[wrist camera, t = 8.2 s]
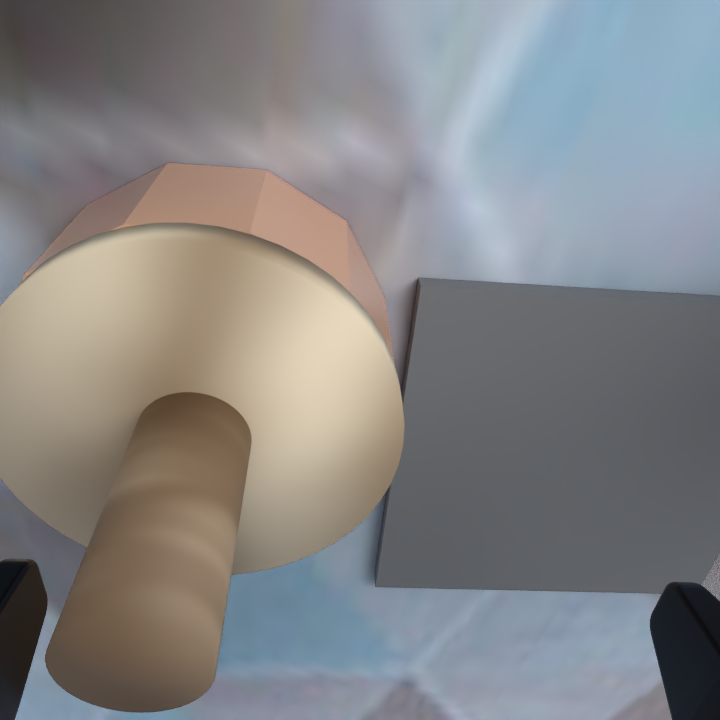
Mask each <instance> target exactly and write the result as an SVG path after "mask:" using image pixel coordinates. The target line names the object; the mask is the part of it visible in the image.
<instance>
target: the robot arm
mask: <svg viewBox="0 0 720 720" xmlns="http://www.w3.org/2000/svg"><path fill="white" fill-rule="evenodd" d="M46 610H47V594H46V591H45V588H44V584H43V581H42V578H41V574H40V571H39V568H38V565H37V563H36V562H35V561H33V560H30V559H5V560H2V561H1V562H0V720H15V717H16V714H17V711H18V708H19V704H20V701H21V698H22V694H23V691H24V687H25V684H26V680H27V677H28V673H29V670H30V667H31V663H32V660H33V656H34V653H35V649H36V646H37V642H38V639H39V636H40V632H41V629H42V625H43V622H44V618H45V615H46ZM650 631H651V635H652V640H653V644H654V648H655V652H656V656H657V660H658V664H659V668H660V672H661V676H662V680H663V684H664V688H665V692H666V696H667V701H668V705H669V709H670V713H671V717H672V720H720V601H719V600H718V599H717V598H716V597H715V596H713V595H712V594H711V593H710V592H709V591H708V590H707V589H706V588H704V587H703V586H701V585H700V584H698V583H693V582H671V583H669V584H668V585H667V586H666V587H665V589H664V591H663V593H662V595H661V597H660V599H659V601H658V603H657V605H656V606H655V608H654V610H653V612H652V615H651V619H650Z"/></svg>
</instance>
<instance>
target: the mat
mask: <svg viewBox="0 0 720 720" xmlns="http://www.w3.org/2000/svg"><path fill="white" fill-rule="evenodd" d="M401 397H402V404H403V414H404V424H405V426H404V441H403V448H402V453H401V457H400V461H399V465H398V468H397V470H396V473H395V475H394V477H393V480H392V482H391V484H390V486H389V488H388V489H387V495H386V502H385V509H384V516H383V522H382V529H381V536H380V543H379V549H378V556H377V563H376V570H375V587H395V588H439V589H483V590H527V591H571V592H615V593H659V594H662V593H663V591H664V589H665V587H666V586H667V585H668V584H669V583H671V582H693V583H698V584H700V585H701V584H702V582H703V581H704V579H705V577H706V575H707V574H708V572H709V570H710V569H711V567H712V565H713V563H714V562H715V560H716V558H717V556H718V555H719V553H720V296H712V295H695V294H679V293H662V292H646V291H629V290H612V289H596V288H579V287H563V286H546V285H530V284H513V283H497V282H480V281H463V280H447V279H430V278H419V279H418V286H417V292H416V299H415V306H414V313H413V319H412V326H411V333H410V340H409V346H408V353H407V360H406V367H405V373H404V380H403V387H402V394H401Z"/></svg>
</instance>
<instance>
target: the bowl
mask: <svg viewBox="0 0 720 720" xmlns="http://www.w3.org/2000/svg"><path fill="white" fill-rule="evenodd" d="M150 223H195V224H203V225H211V226H220V227H224V228H228V229H232V230H236V231H240V232H244V233H248V234H252V235H255V236H257V237H260V238H263V239H265V240H268V241H271V242H273V243H276V244H279V245H281V246H283V247H285V248H287V249H289V250H291V251H293V252H295V253H296V254H298V255H300V256H302V257H304V258H306V259H308V260H309V261H311V262H312V263H314V264H315V265H317V266H318V267H320V268H321V269H323V270H324V271H325V272H327V273H328V274H330V275H331V276H332V277H334V278H335V279H336V280H337V281H338V282H339V283H340V284H341V285H343V286H344V287H345V288H346V289H347V290H348V291H349V292H350V293H352V294H353V296H354V297H355V298H356V299H357V300H358V301H359V303H360V304H361V305H362V306H363V307H364V308H365V310H366V311H367V312H368V313H369V314H370V316H371V317H372V319H373V320H374V322H375V323H376V325H377V327H378V328H379V330H380V331H381V333H382V334H383V336H384V338H385V341H386V343H387V345H388V347H389V350H390V352H391V354H392V356H393V351H392V344H391V337H390V331H389V324H388V317H387V310H386V304H385V297H384V294H383V292H382V290H381V288H380V286H379V284H378V282H377V280H376V278H375V276H374V274H373V272H372V270H371V268H370V266H369V264H368V262H367V260H366V258H365V256H364V254H363V252H362V250H361V248H360V247H359V245H358V243H357V241H356V239H355V237H354V235H353V233H352V231H351V229H350V227H349V225H348V223H347V221H345V220H344V219H342V218H341V217H339V216H338V215H336V214H334V213H333V212H331V211H330V210H328V209H327V208H325V207H324V206H322V205H321V204H319V203H317V202H316V201H314V200H313V199H311V198H310V197H308V196H307V195H305V194H303V193H302V192H300V191H299V190H297V189H296V188H294V187H293V186H291V185H290V184H288V183H286V182H285V181H283V180H282V179H280V178H279V177H277V176H276V175H274V174H272V173H271V172H269V171H268V170H263V169H249V168H235V167H222V166H208V165H194V164H180V163H166V164H164V165H162V166H161V167H159V168H157V169H155V170H153V171H151V172H149V173H147V174H145V175H143V176H141V177H139V178H137V179H135V180H134V181H132V182H130V183H128V184H126V185H124V186H122V187H120V188H118V189H116V190H114V191H112V192H110V193H108V194H106V195H105V196H103V197H101V198H99V199H97V200H95V201H93V202H91V203H89V204H87V205H86V207H85V208H84V209H83V210H82V211H81V212H80V213H79V214H78V215H77V217H76V218H75V219H74V220H73V221H72V222H71V223H70V224H69V225H68V226H67V228H66V229H65V230H64V231H63V232H62V233H61V234H60V235H59V236H58V237H57V239H56V240H55V241H54V242H53V243H52V244H51V245H50V246H49V247H48V249H47V250H46V251H45V252H44V253H43V254H42V255H41V256H40V257H39V258H38V260H37V261H36V262H35V263H34V264H33V265H32V266H31V267H30V268H29V269H28V271H27V272H26V273H25V274H24V277H23V279H22V281H23V280H24V279H25V278H26V277H27V276H28V275H29V274H30V273H32V272H33V271H34V270H35V269H36V268H37V267H38V266H40V265H41V264H42V263H43V262H44V261H45V260H47V259H49V258H50V257H52V256H53V255H55V254H57V253H58V252H60V251H62V250H63V249H65V248H66V247H68V246H70V245H72V244H75V243H77V242H79V241H82V240H84V239H86V238H89V237H91V236H93V235H96V234H99V233H103V232H107V231H111V230H115V229H118V228H122V227H127V226H134V225H142V224H150ZM22 281H21V282H22ZM393 360H394V358H393Z"/></svg>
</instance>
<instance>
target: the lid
mask: <svg viewBox="0 0 720 720" xmlns="http://www.w3.org/2000/svg"><path fill="white" fill-rule="evenodd" d="M404 426H405V424H404V414H403V404H402V397H401V391H400V384H399V378H398V374H397V371H396V367H395V363H394V360H393V356H392V354H391V352H390V350H389V347H388V345H387V343H386V341H385V338H384V336H383V334H382V333H381V331H380V330H379V328H378V327H377V325H376V323H375V322H374V320H373V319H372V317H371V316H370V314H369V313H368V312H367V311H366V310H365V308H364V307H363V306H362V305H361V304H360V303H359V301H358V300H357V299H356V298H355V297H354V296H353V294H352V293H350V292H349V291H348V290H347V289H346V288H345V287H344V286H343V285H341V284H340V283H339V282H338V281H337V280H336V279H335V278H334V277H332V276H331V275H330V274H328V273H327V272H325V271H324V270H323V269H321V268H320V267H318V266H317V265H315V264H314V263H312V262H311V261H309V260H308V259H306V258H304V257H302V256H300V255H298V254H296V253H295V252H293V251H291V250H289V249H287V248H285V247H283V246H281V245H279V244H276V243H273V242H271V241H268V240H265V239H263V238H260V237H257V236H255V235H252V234H248V233H244V232H240V231H236V230H232V229H228V228H224V227H220V226H211V225H203V224H195V223H150V224H142V225H134V226H127V227H122V228H118V229H115V230H111V231H107V232H103V233H99V234H96V235H93V236H91V237H89V238H86V239H84V240H82V241H79V242H77V243H75V244H72V245H70V246H68V247H66V248H65V249H63V250H62V251H60V252H58V253H57V254H55V255H53V256H52V257H50V258H49V259H47V260H45V261H44V262H43V263H42V264H41V265H40V266H38V267H37V268H36V269H35V270H34V271H33V272H32V273H30V274H29V275H28V276H27V277H26V278H25V279H24V280H23V281H22V282H21V283H20V285H19V286H18V287H17V288H16V289H15V290H14V291H13V292H12V294H11V295H10V296H9V297H8V298H7V299H6V300H5V302H4V303H3V304H2V305H1V307H0V478H1V479H2V481H3V482H4V483H5V484H6V486H7V487H8V488H9V490H10V491H11V492H12V493H13V494H14V495H15V496H16V497H17V498H18V499H19V500H20V501H21V502H22V503H23V504H24V505H25V506H26V507H27V508H28V509H29V510H31V511H32V512H33V513H34V514H35V515H37V516H38V517H39V518H40V519H42V520H43V521H44V522H45V523H47V524H48V525H50V526H51V527H53V528H54V529H56V530H57V531H59V532H60V533H62V534H63V535H65V536H66V537H68V538H70V539H72V540H74V541H76V542H78V543H79V544H81V545H83V546H85V547H87V550H86V552H85V555H84V557H83V560H82V562H81V565H80V567H79V570H78V572H77V575H76V577H75V580H74V582H73V585H72V587H71V590H70V592H69V595H68V597H67V600H66V602H65V605H64V607H63V610H62V612H61V615H60V618H59V620H58V623H57V625H56V628H55V630H54V633H53V635H52V638H51V640H50V643H49V645H48V648H47V651H46V654H45V662H46V667H47V669H48V672H49V674H50V675H51V677H52V678H53V680H54V681H55V682H56V683H57V684H58V685H59V686H60V687H62V688H63V689H64V690H65V691H67V692H68V693H70V694H71V695H73V696H75V697H77V698H79V699H81V700H83V701H85V702H88V703H90V704H93V705H96V706H99V707H103V708H107V709H112V710H117V711H125V712H157V711H164V710H170V709H174V708H178V707H181V706H183V705H186V704H189V703H191V702H193V701H195V700H196V699H198V698H199V697H201V696H202V695H203V694H204V693H205V692H207V690H208V689H209V688H210V687H211V685H212V683H213V681H214V678H215V674H216V668H217V662H218V655H219V649H220V642H221V636H222V630H223V623H224V617H225V610H226V604H227V598H228V591H229V585H230V578H231V575H234V574H243V573H252V572H257V571H262V570H267V569H272V568H276V567H279V566H283V565H286V564H289V563H293V562H296V561H298V560H301V559H303V558H306V557H308V556H310V555H313V554H315V553H317V552H319V551H321V550H323V549H324V548H326V547H328V546H330V545H332V544H334V543H335V542H337V541H338V540H340V539H341V538H342V537H344V536H345V535H347V534H348V533H349V532H351V531H352V530H353V529H354V528H355V527H357V526H358V525H359V524H360V523H361V522H362V521H363V520H364V519H365V518H366V517H367V516H368V515H369V514H370V513H371V512H372V510H373V509H374V508H375V507H376V506H377V504H378V503H379V502H380V501H381V499H382V497H383V496H384V494H385V493H386V491H387V489H388V488H389V486H390V484H391V482H392V480H393V477H394V475H395V473H396V470H397V468H398V465H399V461H400V457H401V453H402V448H403V441H404Z"/></svg>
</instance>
